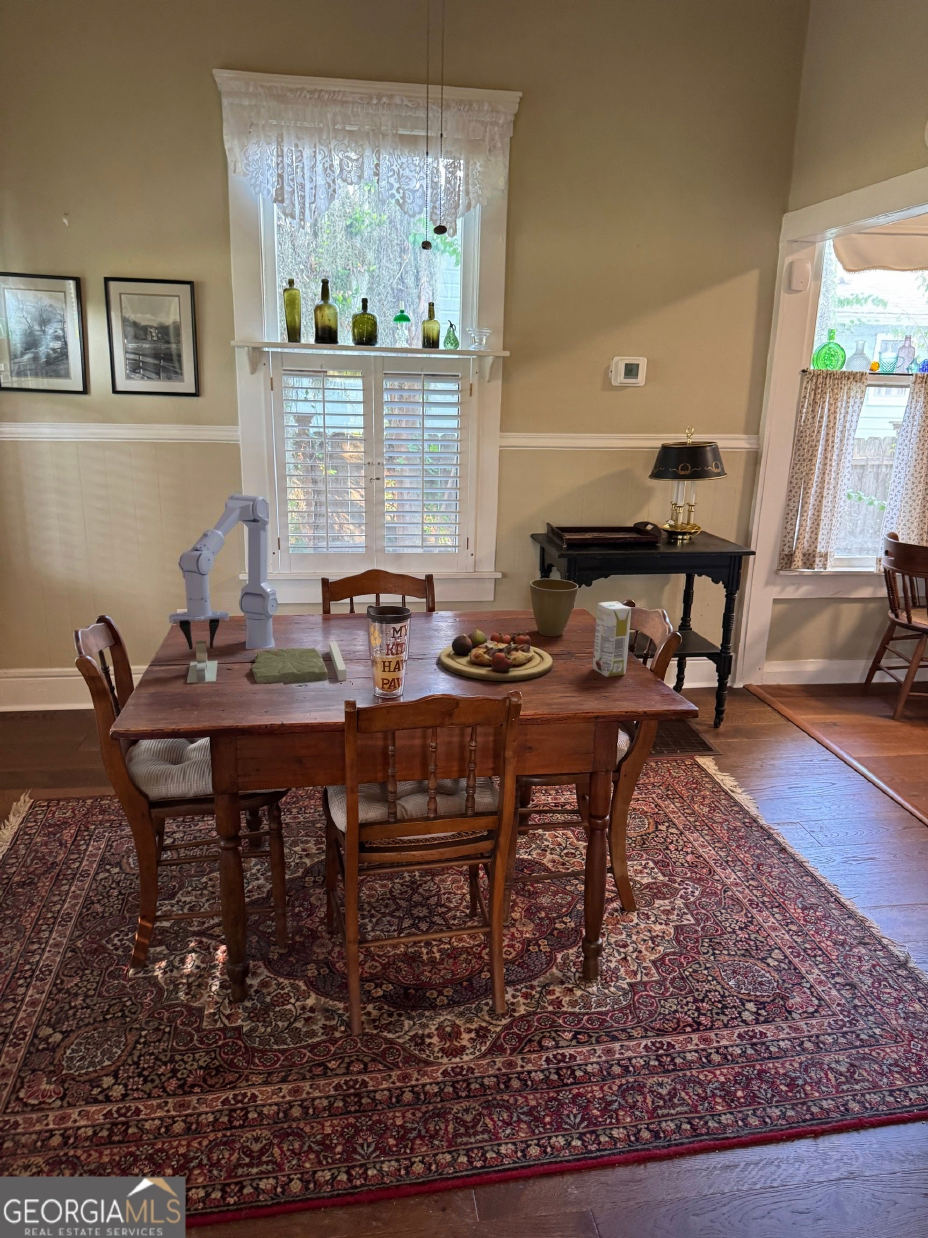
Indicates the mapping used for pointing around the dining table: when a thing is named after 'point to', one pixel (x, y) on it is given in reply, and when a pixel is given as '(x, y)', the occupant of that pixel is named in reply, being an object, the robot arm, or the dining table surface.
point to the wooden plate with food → (495, 657)
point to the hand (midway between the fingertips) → (201, 647)
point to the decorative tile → (289, 666)
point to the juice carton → (611, 638)
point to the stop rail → (337, 661)
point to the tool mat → (209, 675)
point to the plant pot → (552, 604)
